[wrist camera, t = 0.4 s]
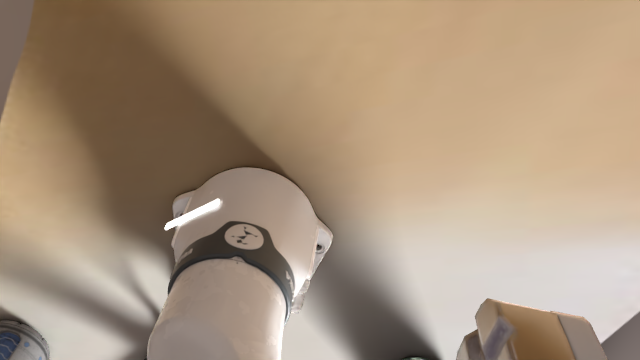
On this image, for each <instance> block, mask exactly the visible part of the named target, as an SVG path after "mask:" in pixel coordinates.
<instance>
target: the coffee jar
mask: <svg viewBox="0 0 640 360" xmlns="http://www.w3.org/2000/svg"><path fill="white" fill-rule="evenodd" d="M403 360H429V359H426V358H419V357H409V358H405V359H403Z"/></svg>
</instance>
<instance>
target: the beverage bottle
mask: <svg viewBox="0 0 640 360" xmlns="http://www.w3.org/2000/svg"><path fill="white" fill-rule="evenodd" d="M0 360H49V347H48V344H47V342H46V341H45V339H44V338H42V336H41V335H40V334H39V333H38V332H37V331H35V330H34V329H33V328H31V327H29V326H27V325H25V324H19V322H16V321H10V320H0Z"/></svg>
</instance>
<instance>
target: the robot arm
mask: <svg viewBox="0 0 640 360" xmlns="http://www.w3.org/2000/svg"><path fill="white" fill-rule="evenodd" d="M172 210H173V218H174V220H173V221H171V222H168V223H167V224H166V226H165V229H166V230H168V229H170V228H172V227H175V235H174V237H173V240H172V244H171V246H172V247H173V248H174V256H175V262H176V265H175V267H174V269H173V272H172V274H171V278H170V279H171V280H170V283H169V286H168V297H167V300H166V302H165V304H164V306H163V309H162V311H161V313H160V315H159V318H158V320H157V322H156V324H155V326H154V329H153V331H152V333H151V336H150V338H149V342H148V348H147V357H146V358H145V359H144V360H281V345H282V335H283V328H284V326H285V325H286V323H287V321H288V319H289V316H290V313H291V312H293V313H296V314H297V313H299V312H300V310H301V308H302V305H303V302H304V295H303V294H302V293H303V292H304V293H306V292H307V290H308V288H309V284H310V282H309V281H310V279H311V278H312V276H313V274H314V272H315V271H316V269H317V267H318V266H319V264H320V262H321V261H322V259H323V257H324V255H325V254H326V252H327V250H328V249H329V247H330V245H331V243H332V239H333V234H332V232H331V231H330V230H329V228H328V227H327V226H326V225H324V224H323V223H322V222H321V221H320V220H319V219H318V218H317V216H316V215H315V213H314V210H313V208H312V206H311V204H310V202H309V200H308V198H307V197H306V196H305V194H304V193H303V192H302V191H301V190H300V189H299V188H298V187H297V186H296V185H295V184H294V183H292V182H291V181H290V180H288V179H287V178H285V177H283V176H281V175H279V174H277V173H274V172H272V171H268V170H265V169H260V168H251V167H244V168H235V169H230V170H227V171H224V172H221V173H219V174H217V175H215V176H213V177H212V178H210V179H209V180H208V181H207V182H206V183H204V184H203V185H202V186H201V187H200V188H198V189H197V190H194V191H191V192H187V193H184V194H181V195H179V196H177V197H176V198H175V200H174V202H173V206H172ZM182 213H183V214H182ZM317 244H319V245H321V246H316V245H317ZM475 319H476V323H477V328H478V329H477V330H475V331H473V332H472V333H470V334H468V335H466V336H465V337H464V339H463V341H462V343H461V345H460V348H459V350H458V353H457V358H456V360H608V359H607V357H606V355H605V353H604V351H603V349H602V347H601V345H600V343H599V340H598V338H597V336H596V334H595V332H594V330H593V328H592V326H591V324H590V323H589V322H588V321H587V320H586V319H585V318H584V317H580V316H575V315H570V314H565V313H559V312H554V311H550V312H549V311H545V310H541V309H536V308H531V307H526V306H522V305H517V304H512V303H508V302H503V301H498V300H493V299H489V298H487V299H486V300H485V301H484V302H483V303H482V304H481V306H480V308H479V309H478V311H477V313H476V315H475Z"/></svg>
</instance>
